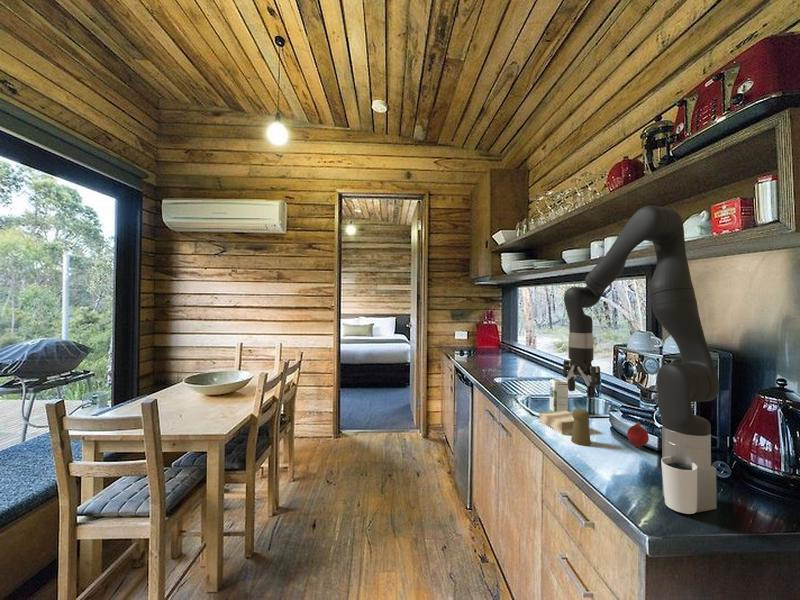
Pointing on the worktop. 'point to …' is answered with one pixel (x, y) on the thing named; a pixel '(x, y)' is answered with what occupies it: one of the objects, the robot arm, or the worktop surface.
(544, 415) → the birch block
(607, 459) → the worktop surface
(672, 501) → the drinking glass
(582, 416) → the cork
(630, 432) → the onion
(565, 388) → the syrup box
